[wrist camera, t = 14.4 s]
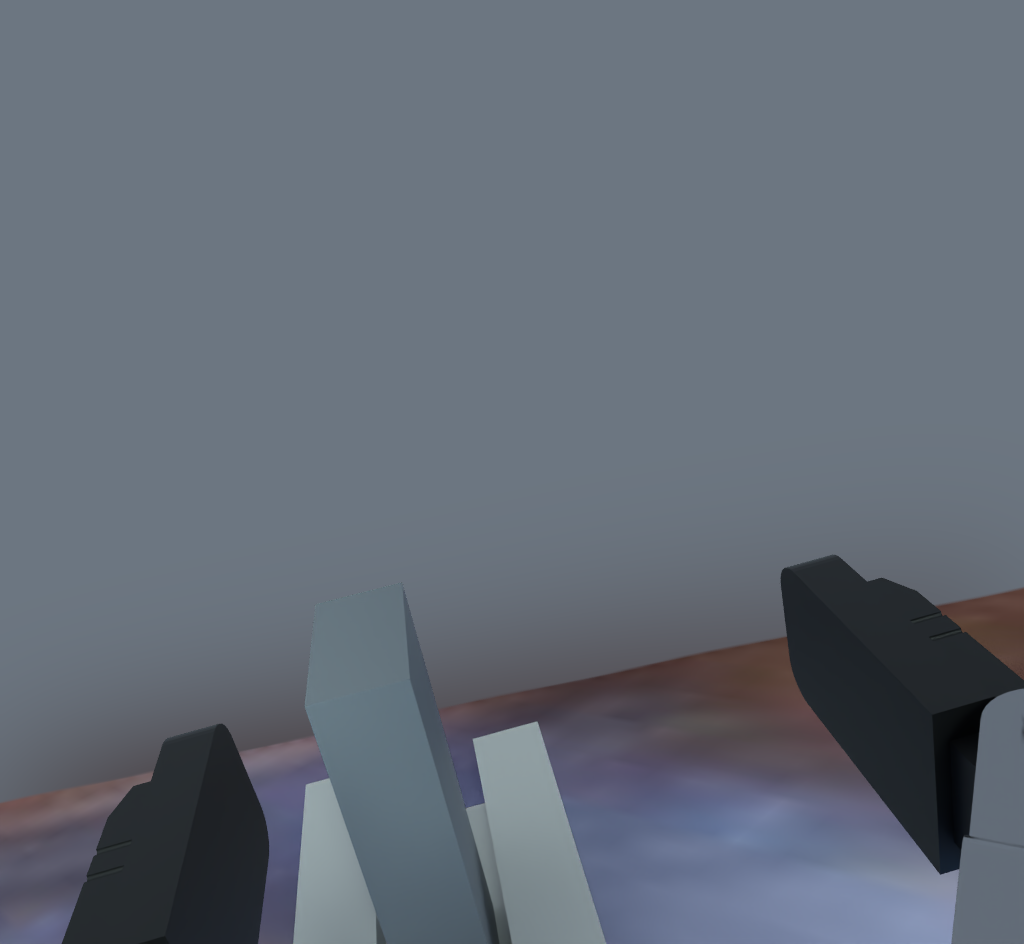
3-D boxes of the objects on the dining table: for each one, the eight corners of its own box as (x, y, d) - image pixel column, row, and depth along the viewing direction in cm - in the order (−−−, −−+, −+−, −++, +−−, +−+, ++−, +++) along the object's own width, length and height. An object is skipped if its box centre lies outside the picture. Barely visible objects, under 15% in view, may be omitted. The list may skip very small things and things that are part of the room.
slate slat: (493, 906, 37) (402, 582, 31) (516, 1044, 31) (409, 678, 26) (420, 927, 36) (315, 604, 31) (430, 1069, 31) (304, 706, 25)
